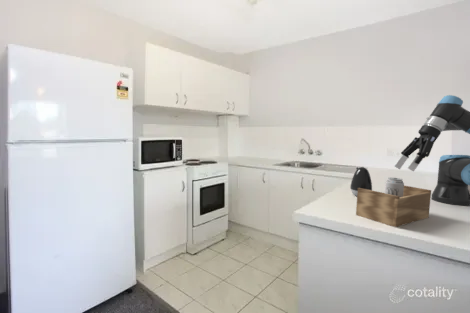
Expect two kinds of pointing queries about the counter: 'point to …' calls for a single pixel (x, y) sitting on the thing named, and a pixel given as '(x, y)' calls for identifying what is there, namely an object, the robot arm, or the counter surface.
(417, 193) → the oak crate
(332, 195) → the counter surface
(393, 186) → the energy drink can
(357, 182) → the black tall egg shape
